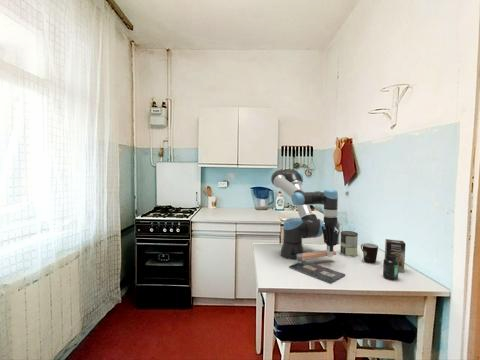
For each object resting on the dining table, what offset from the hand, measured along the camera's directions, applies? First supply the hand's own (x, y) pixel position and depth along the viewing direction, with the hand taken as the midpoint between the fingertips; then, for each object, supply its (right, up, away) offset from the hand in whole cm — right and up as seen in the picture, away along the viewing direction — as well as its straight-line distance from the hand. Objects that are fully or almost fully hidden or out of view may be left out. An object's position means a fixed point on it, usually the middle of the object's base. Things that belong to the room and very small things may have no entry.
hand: (329, 256), depth 156 cm
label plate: (-11, -5, -11) cm, 16 cm away
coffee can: (+18, -4, +18) cm, 26 cm away
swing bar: (-8, -1, +1) cm, 8 cm away
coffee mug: (+26, -5, +6) cm, 27 cm away
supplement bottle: (+25, -6, -18) cm, 32 cm away
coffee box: (+33, -5, -7) cm, 34 cm away
